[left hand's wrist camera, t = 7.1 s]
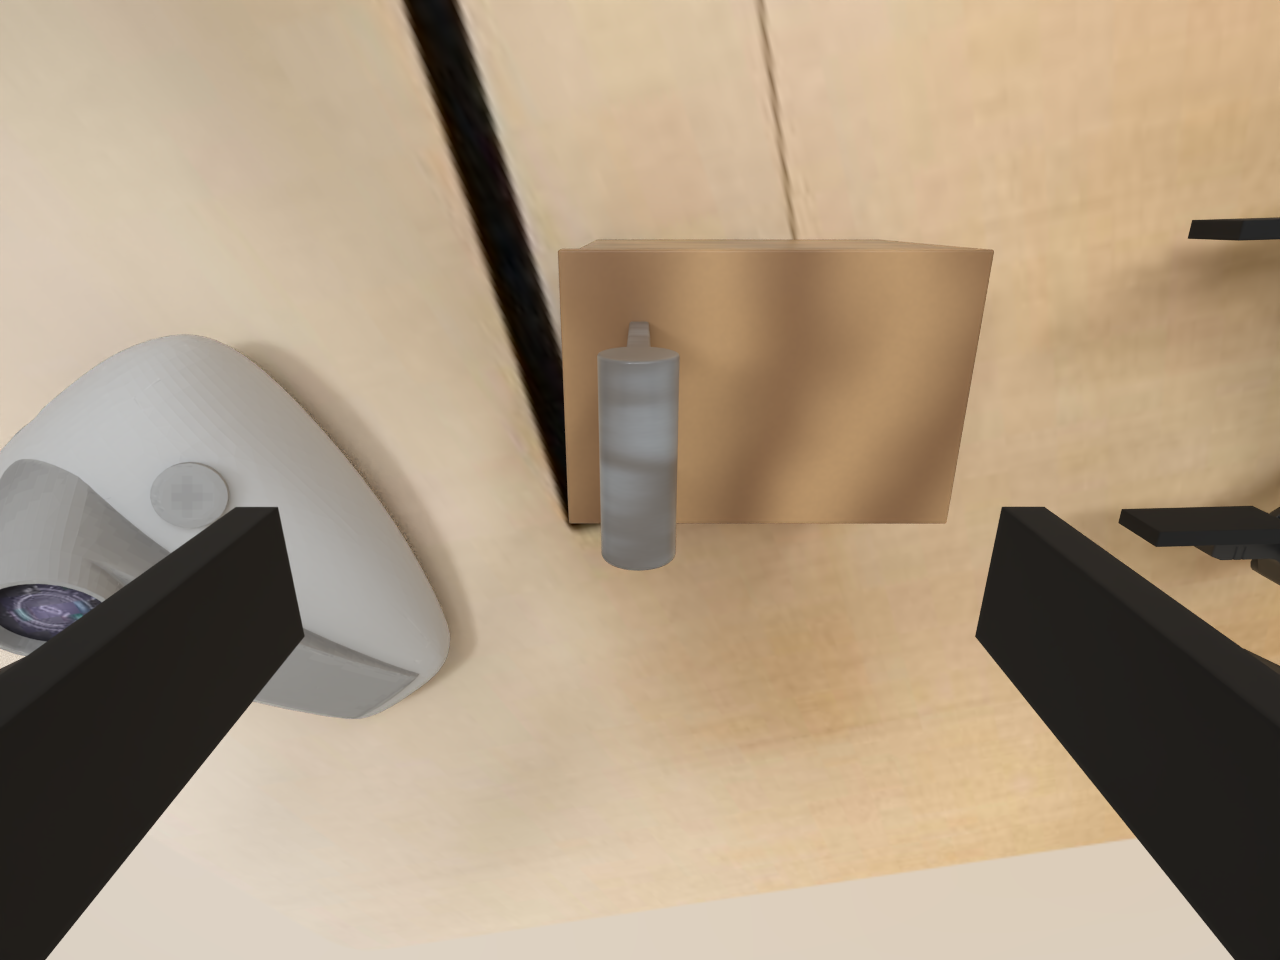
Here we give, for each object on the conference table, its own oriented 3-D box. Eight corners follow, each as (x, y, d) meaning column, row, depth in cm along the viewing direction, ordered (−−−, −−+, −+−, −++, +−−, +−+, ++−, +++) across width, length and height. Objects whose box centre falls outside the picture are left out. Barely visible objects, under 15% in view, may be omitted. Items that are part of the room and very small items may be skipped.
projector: (109, 669, 44) (-131, 873, 30) (28, 304, 36) (-352, 357, 22) (456, 695, 44) (375, 906, 31) (454, 343, 36) (343, 418, 23)
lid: (571, 514, 28) (541, 641, 20) (560, 248, 24) (518, 264, 16) (937, 514, 28) (1064, 641, 20) (982, 249, 24) (1163, 264, 16)
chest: (600, 434, 38) (585, 513, 28) (596, 239, 35) (576, 248, 24) (857, 434, 38) (936, 514, 28) (880, 239, 35) (981, 248, 24)
